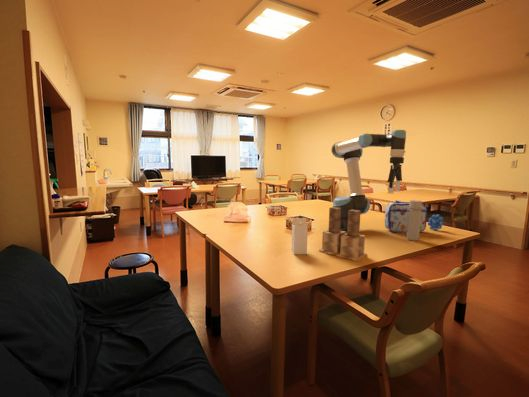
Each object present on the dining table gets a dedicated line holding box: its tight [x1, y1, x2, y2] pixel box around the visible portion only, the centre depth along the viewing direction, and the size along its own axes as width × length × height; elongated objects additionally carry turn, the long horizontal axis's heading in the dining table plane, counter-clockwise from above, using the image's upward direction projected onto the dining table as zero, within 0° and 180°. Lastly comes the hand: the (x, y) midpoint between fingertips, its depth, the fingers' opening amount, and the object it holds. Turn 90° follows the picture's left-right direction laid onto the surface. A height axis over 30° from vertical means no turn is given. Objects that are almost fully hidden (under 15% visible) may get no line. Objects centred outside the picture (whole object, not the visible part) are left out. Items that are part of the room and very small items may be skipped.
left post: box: [328, 206, 341, 234], centre depth 156 cm, size 5×5×23 cm
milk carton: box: [291, 217, 309, 255], centre depth 154 cm, size 7×7×19 cm
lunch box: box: [384, 199, 428, 234], centre depth 199 cm, size 28×10×22 cm, turn 88°
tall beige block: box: [404, 199, 423, 242], centre depth 179 cm, size 9×8×25 cm
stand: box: [318, 229, 368, 262], centre depth 153 cm, size 22×12×11 cm, turn 47°
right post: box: [346, 209, 361, 238], centre depth 148 cm, size 5×5×23 cm
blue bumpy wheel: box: [427, 214, 445, 231], centre depth 204 cm, size 12×7×12 cm, turn 23°
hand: (394, 192), depth 171 cm, fingers open, 13 cm apart
